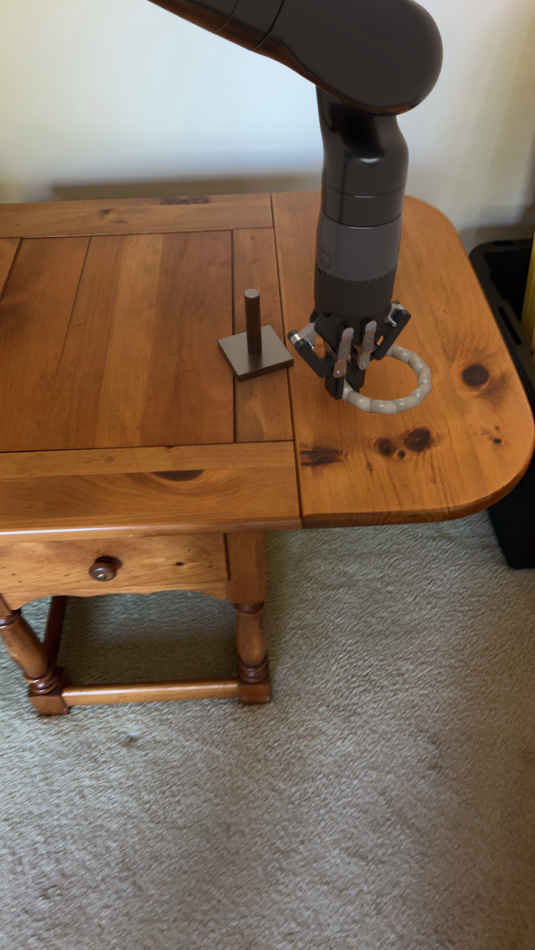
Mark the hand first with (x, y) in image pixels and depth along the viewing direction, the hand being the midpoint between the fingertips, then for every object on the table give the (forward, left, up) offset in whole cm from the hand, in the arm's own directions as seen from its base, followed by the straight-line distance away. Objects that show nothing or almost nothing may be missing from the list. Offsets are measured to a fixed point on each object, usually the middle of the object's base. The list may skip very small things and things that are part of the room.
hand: (343, 392), depth 73 cm
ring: (+5, 0, 0) cm, 5 cm away
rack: (-3, +19, -9) cm, 21 cm away
